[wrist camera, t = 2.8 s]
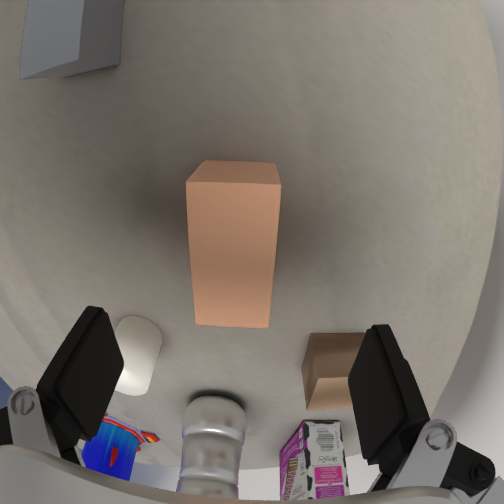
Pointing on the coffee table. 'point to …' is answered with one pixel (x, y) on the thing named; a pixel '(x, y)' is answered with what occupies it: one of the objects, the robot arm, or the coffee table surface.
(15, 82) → the coffee table surface
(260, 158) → the coffee table surface
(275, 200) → the terracotta long brick
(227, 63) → the coffee table surface
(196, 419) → the plastic bottle
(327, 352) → the walnut square block
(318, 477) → the candy bar box
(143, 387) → the cream cylinder
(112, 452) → the fantasy tower
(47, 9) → the grey short brick
